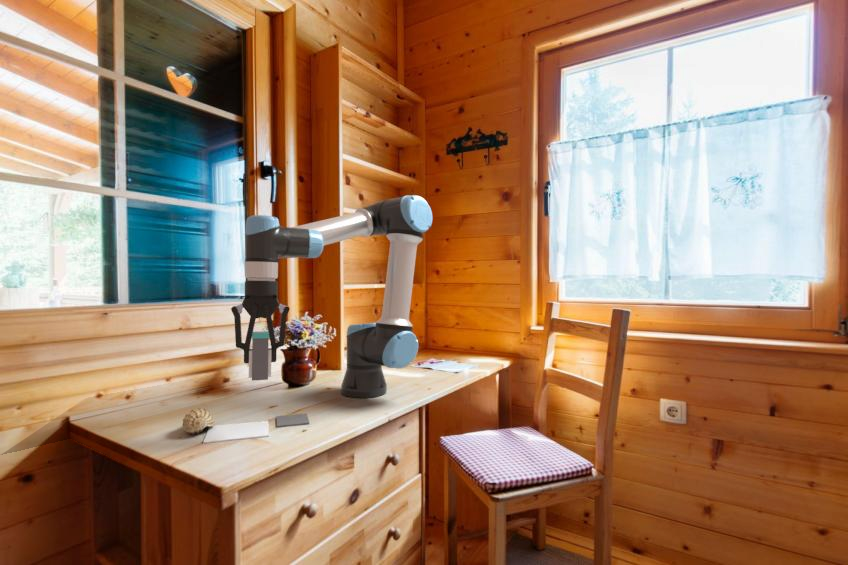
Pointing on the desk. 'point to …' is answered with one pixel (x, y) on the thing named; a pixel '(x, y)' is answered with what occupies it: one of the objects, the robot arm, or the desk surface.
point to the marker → (260, 355)
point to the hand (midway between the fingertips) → (260, 375)
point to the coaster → (292, 420)
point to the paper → (237, 431)
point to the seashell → (197, 421)
